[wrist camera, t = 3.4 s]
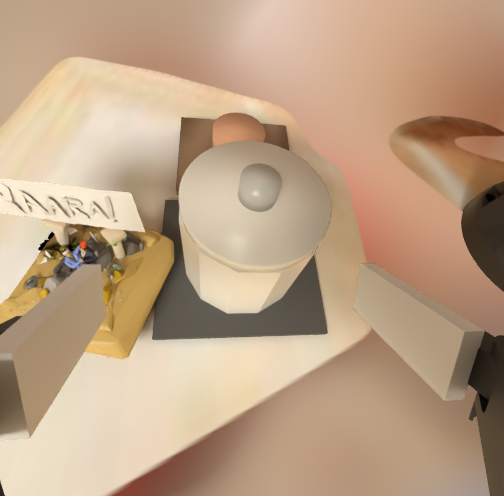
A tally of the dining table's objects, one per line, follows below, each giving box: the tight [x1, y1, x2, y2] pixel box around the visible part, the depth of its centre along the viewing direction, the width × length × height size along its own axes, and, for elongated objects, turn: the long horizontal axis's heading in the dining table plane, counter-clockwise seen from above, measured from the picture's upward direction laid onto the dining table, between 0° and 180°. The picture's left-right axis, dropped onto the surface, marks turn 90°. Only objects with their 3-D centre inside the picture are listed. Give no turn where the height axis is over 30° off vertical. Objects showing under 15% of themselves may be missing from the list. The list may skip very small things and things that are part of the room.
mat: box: [152, 200, 327, 340], centre depth 26 cm, size 14×13×1 cm
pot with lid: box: [179, 141, 331, 314], centre depth 21 cm, size 9×9×11 cm
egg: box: [212, 113, 265, 148], centre depth 30 cm, size 5×5×3 cm
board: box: [176, 117, 289, 195], centre depth 32 cm, size 12×10×1 cm
